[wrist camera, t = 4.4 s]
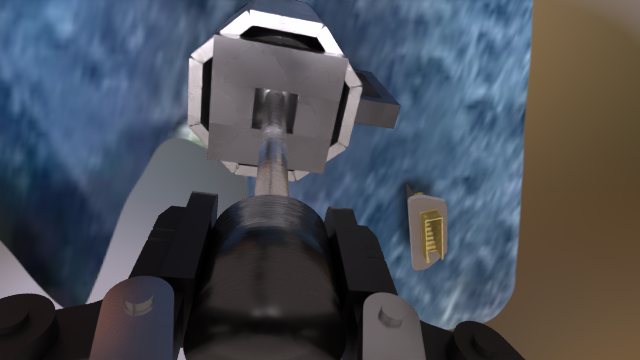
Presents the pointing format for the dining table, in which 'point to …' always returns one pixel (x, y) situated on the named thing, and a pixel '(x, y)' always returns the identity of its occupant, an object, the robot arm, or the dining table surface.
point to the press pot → (280, 88)
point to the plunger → (268, 263)
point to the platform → (426, 228)
